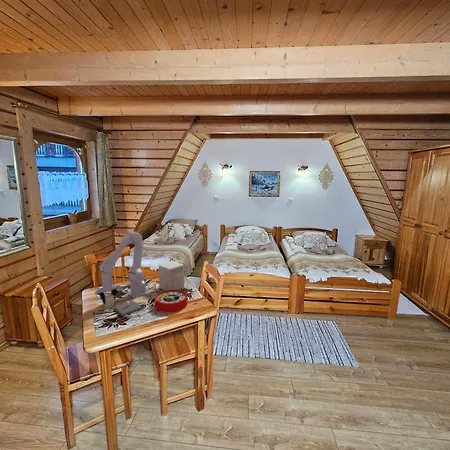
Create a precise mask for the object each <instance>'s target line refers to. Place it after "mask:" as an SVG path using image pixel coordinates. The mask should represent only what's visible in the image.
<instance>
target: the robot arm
mask: <svg viewBox="0 0 450 450" xmlns="http://www.w3.org/2000/svg"><path fill="white" fill-rule="evenodd" d="M131 244H133V245H134V249H133V250H134V251H133V258H132V266H131V268H130V270H129V272H128V275H127V279H128V280H129V283H130V284H129V286H130V287H129V288H130V292H129V293H128V295H129V296H130V297H132V298H133V299H134V298H138V297H141V296H144V295H146V294H147V289H146V288H147V287H146V286H147V285H146V281H145V282H144V281H143V276H144V274H143V270H142V269H141V268H142V261H143V260H142V259H143V251H144V240H143V235H142V234H141V233H139V232H137V231H132V230H127V231H126V232H125V234H124V235H123V237H122V239H121V241H120V242H119V244H118V245H117V247H116V249H115V250H114V251H112V252H110V253H109V254H108V256H107V258H106V259H105V260H104V261H103V262H102V263H101V264H100V265H99V267H98V269H99V271H100V273H101V275H100V276H101V285H102V286H101V287H102V288H100V289H98V290H95V291H94V295H95V296H99V297H100V299H101V301H102V305H103V304H105V295H106V294H105V293H107V292H110V293H111V294H112V295H114V300H115V298H116V295H117V293H118V289H121V286H120V284H115V285H113V276H112V271H113V270H114V267H115V264H116V263H117V261H118V260H119V259H120V254H121V253H122V252H123V251H124V250H125V248H126V247H127V246H128V245H131ZM142 274H143V275H142Z"/></svg>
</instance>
